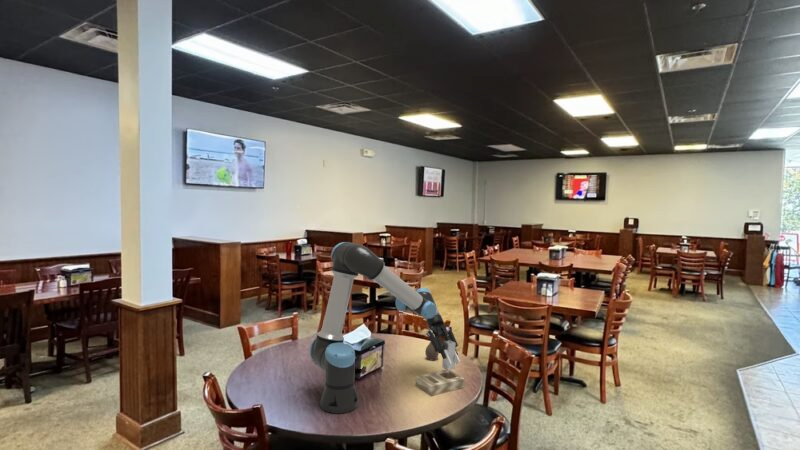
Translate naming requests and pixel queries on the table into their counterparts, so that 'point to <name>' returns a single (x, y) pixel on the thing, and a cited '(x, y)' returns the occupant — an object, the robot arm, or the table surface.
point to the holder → (439, 382)
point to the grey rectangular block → (449, 354)
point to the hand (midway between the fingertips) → (453, 363)
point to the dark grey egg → (431, 352)
